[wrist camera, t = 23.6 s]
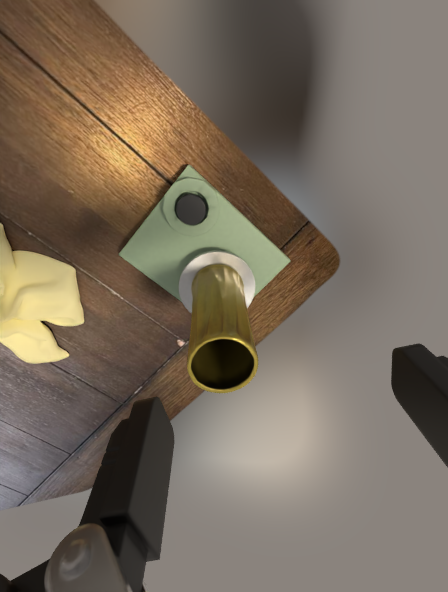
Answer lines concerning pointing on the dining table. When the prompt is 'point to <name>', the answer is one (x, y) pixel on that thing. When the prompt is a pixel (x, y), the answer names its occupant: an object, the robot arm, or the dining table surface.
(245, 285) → the weighing plate
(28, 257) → the cloth
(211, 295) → the vase
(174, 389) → the dining table surface
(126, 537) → the robot arm
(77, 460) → the dining table surface
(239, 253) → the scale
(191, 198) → the button
